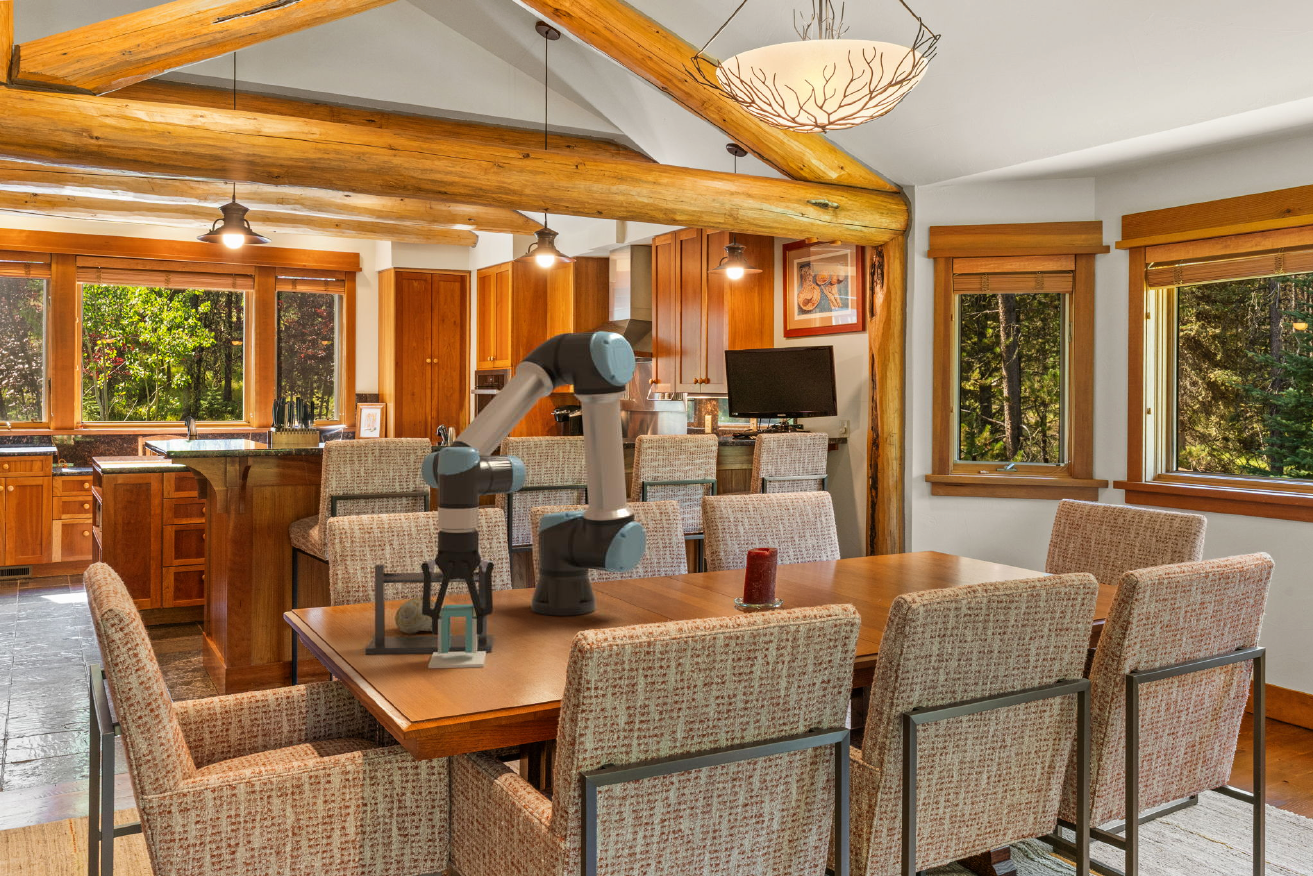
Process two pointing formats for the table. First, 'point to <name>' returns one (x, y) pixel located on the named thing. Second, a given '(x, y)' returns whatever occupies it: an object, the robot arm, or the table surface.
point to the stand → (419, 643)
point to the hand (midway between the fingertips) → (457, 651)
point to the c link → (445, 625)
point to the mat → (457, 660)
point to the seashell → (413, 616)
